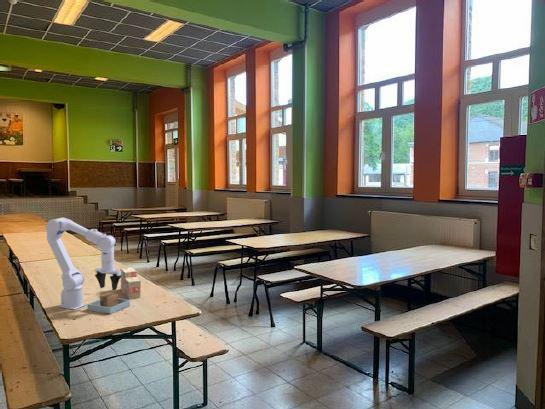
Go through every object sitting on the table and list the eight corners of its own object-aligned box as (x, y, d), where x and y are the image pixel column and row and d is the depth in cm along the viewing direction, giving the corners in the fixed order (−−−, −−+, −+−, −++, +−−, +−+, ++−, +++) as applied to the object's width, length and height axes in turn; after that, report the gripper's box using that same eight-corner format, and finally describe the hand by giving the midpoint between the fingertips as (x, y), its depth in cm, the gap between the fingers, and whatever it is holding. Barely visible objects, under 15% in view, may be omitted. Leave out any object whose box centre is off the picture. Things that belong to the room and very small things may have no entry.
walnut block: (100, 307, 202) (99, 295, 201) (110, 304, 207) (110, 292, 206) (108, 309, 199) (107, 297, 198) (118, 306, 204) (117, 294, 203)
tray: (87, 310, 199) (87, 304, 199) (107, 302, 211) (107, 296, 211) (110, 314, 194) (110, 308, 194) (129, 306, 206) (129, 300, 206)
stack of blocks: (140, 297, 219) (140, 274, 218) (128, 299, 216) (128, 276, 215) (132, 287, 238) (131, 266, 237) (120, 289, 235) (120, 267, 234)
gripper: (89, 261, 201) (90, 288, 202) (113, 264, 195) (114, 292, 196) (101, 258, 207) (101, 285, 208) (124, 261, 202) (124, 288, 203)
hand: (108, 288), depth 203 cm, fingers open, 7 cm apart
